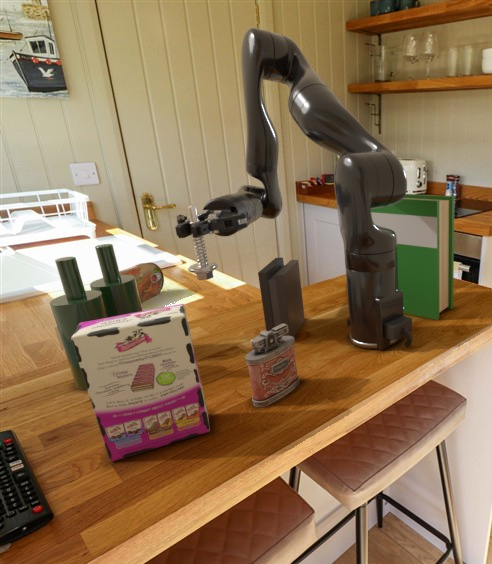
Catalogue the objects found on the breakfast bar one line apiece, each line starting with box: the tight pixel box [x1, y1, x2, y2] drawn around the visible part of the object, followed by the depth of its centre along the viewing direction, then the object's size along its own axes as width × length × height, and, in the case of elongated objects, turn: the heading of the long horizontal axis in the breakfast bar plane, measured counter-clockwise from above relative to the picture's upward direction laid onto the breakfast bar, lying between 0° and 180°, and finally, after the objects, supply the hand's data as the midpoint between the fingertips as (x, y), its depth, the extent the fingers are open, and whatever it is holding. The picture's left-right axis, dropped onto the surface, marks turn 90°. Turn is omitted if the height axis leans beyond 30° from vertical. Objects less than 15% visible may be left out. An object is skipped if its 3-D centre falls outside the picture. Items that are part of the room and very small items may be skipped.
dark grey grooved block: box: [257, 257, 306, 338], centre depth 81 cm, size 4×10×14 cm, turn 178°
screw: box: [187, 204, 219, 281], centre depth 73 cm, size 13×5×5 cm
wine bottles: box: [49, 243, 144, 391], centre depth 68 cm, size 14×7×20 cm, turn 178°
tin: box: [119, 262, 165, 303], centre depth 101 cm, size 15×3×8 cm, turn 168°
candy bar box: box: [71, 303, 211, 462], centre depth 51 cm, size 11×5×16 cm, turn 117°
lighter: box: [244, 324, 301, 408], centre depth 61 cm, size 8×3×10 cm, turn 148°
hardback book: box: [371, 193, 455, 321], centre depth 90 cm, size 18×7×24 cm, turn 58°
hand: (187, 231), depth 69 cm, fingers closed on screw, 2 cm apart
